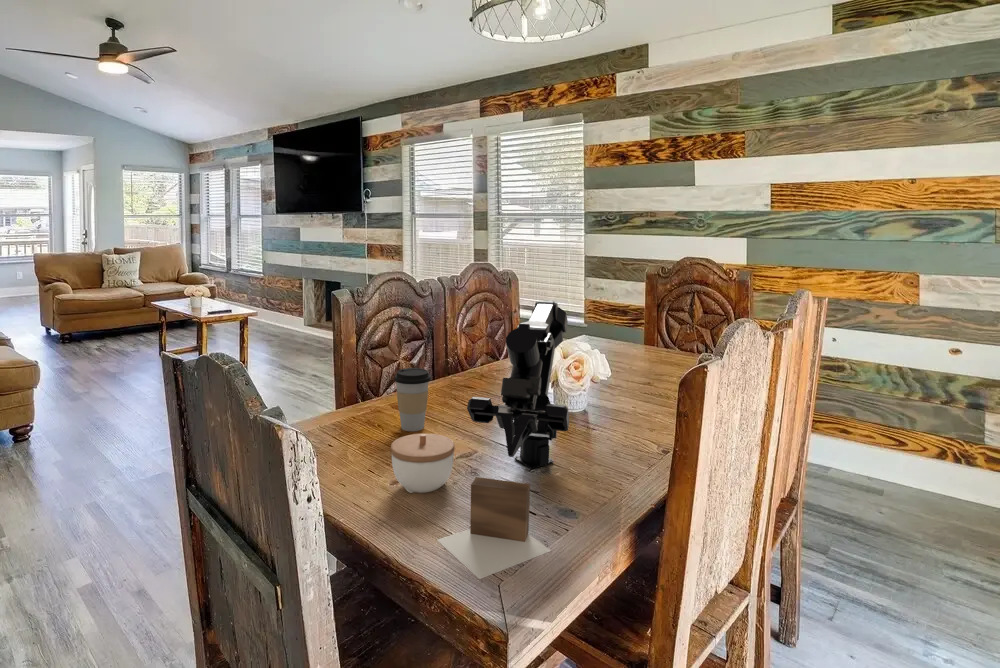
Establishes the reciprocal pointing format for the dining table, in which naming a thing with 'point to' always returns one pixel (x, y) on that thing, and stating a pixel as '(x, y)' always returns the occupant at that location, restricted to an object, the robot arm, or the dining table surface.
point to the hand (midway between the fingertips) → (510, 456)
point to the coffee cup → (412, 397)
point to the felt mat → (490, 551)
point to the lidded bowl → (422, 461)
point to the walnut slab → (500, 509)
